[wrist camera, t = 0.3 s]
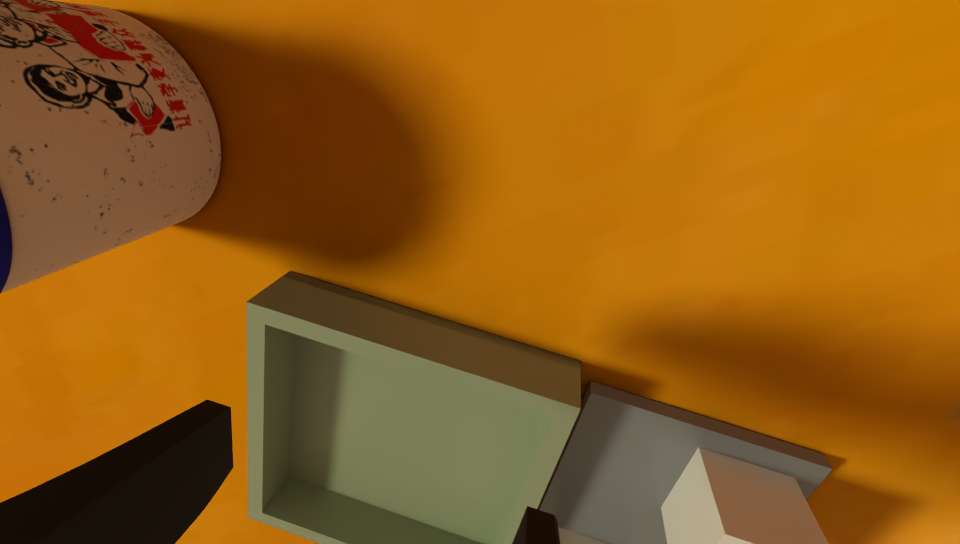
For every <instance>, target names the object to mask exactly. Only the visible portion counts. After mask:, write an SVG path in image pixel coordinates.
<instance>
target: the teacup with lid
mask: <svg viewBox="0 0 960 544" xmlns="http://www.w3.org/2000/svg"><path fill="white" fill-rule="evenodd" d="M220 168H221V143H220V135H219V130H218V125H217V122H216V118H215V115H214V112H213V109H212V106H211V104H210V102H209V99H208V97H207V95H206V93H205V91H204V89H203V87H202V85H201V84H200V82H199V80H198V79H197V77H196V75H195V74H194V72H193V71H192V70H191V68H190V67H189V66H188V64H187V63H186V62H185V60H184V59H183V58H182V57H181V55H180V54H179V53H178V52H177V51H176V50H175V49H174V48H173V47H172V46H171V45H170V44H169V43H168V42H167V41H166V40H165V39H164V38H163V37H161V36H160V35H159V34H158V33H156V32H155V31H154V30H152V29H151V28H149V27H148V26H146V25H145V24H143V23H142V22H140V21H138V20H136V19H134V18H133V17H131V16H129V15H126V14H124V13H121V12H119V11H115V10H112V9H108V8H104V7H98V6H91V5H82V4H74V3H65V2H57V1H48V0H0V293H3V292H5V291H8V290H10V289H13V288H15V287H18V286H20V285H23V284H25V283H28V282H30V281H33V280H35V279H38V278H40V277H43V276H45V275H48V274H51V273H53V272H56V271H58V270H61V269H63V268H66V267H68V266H71V265H73V264H76V263H78V262H81V261H83V260H86V259H88V258H91V257H93V256H96V255H99V254H101V253H104V252H106V251H109V250H111V249H114V248H116V247H119V246H121V245H124V244H126V243H129V242H131V241H134V240H136V239H139V238H142V237H144V236H147V235H149V234H152V233H154V232H157V231H159V230H162V229H164V228H167V227H169V226H172V225H174V224H177V223H179V222H182V221H184V220H186V219H188V218H190V217H192V216H193V215H195V214H196V213H197V212H199V211H200V210H201V209H202V208H203V207H204V206H205V204H206V203H207V202H208V200H209V199H210V197H211V195H212V194H213V192H214V190H215V187H216V185H217V181H218V178H219V173H220Z"/></svg>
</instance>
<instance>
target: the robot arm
mask: <svg viewBox="0 0 960 544" xmlns="http://www.w3.org/2000/svg"><path fill="white" fill-rule="evenodd" d="M232 468H233V451H232V427H231V407H228V406H225V405H222V404H219V403H216V402H213V401H210V400H206V401H204V402H202V403H200V404H198V405H196V406H194V407H192V408H190V409H188V410H186V411H184V412H183V413H181V414H179V415H177V416H175V417H173V418H171V419H169V420H167V421H166V422H164V423H162V424H160V425H158V426H156V427H154V428H152V429H151V430H149V431H147V432H145V433H143V434H141V435H139V436H137V437H135V438H134V439H132V440H130V441H128V442H126V443H124V444H122V445H120V446H118V447H116V448H114V449H112V450H110V451H108V452H106V453H104V454H102V455H100V456H99V457H97V458H95V459H93V460H91V461H89V462H87V463H85V464H83V465H81V466H79V467H77V468H74V469H72V470H70V471H68V472H66V473H64V474H62V475H60V476H58V477H56V478H53V479H51V480H49V481H47V482H45V483H43V484H41V485H39V486H37V487H35V488H32V489H30V490H28V491H26V492H24V493H22V494H19V495H17V496H15V497H13V498H10V499H8V500H6V501H4V502H1V503H0V544H175V543H176V542H177V540H178V539H179V538H180V537H181V536H182V535H183V533H184V532H185V531H186V530H187V529H188V528H189V526H190V525H191V524H192V523H193V522H194V521H195V519H196V518H197V517H198V516H199V515H200V513H201V512H202V511H203V510H204V509H205V507H206V506H207V504H208V503H209V502H210V500H211V499H212V497H213V496H214V495H215V493H216V492H217V490H218V489H219V487H220V486H221V484H222V483H223V481H224V480H225V479H226V477H227V476H228V474H229V473H230V471H231V470H232ZM512 544H560V538H559V531H558V522H557V519H556V517H555V516H554V515H553V514H550V513H547V512H544V511H541V510H538V509H535V508H532V507H529V506H527V508H526V510H525V513H524V515H523V518H522V520H521V523H520V525H519V528H518V530H517V533H516V535H515V538H514V540H513V543H512Z"/></svg>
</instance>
